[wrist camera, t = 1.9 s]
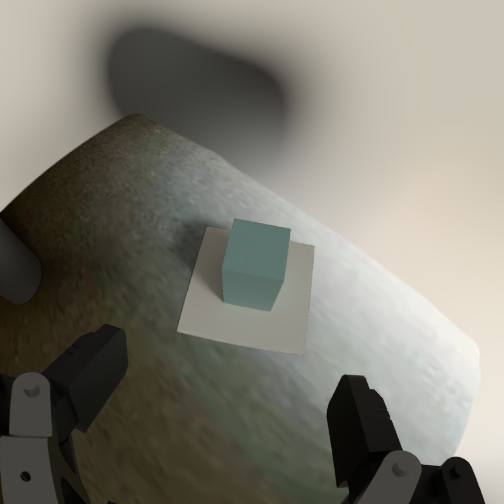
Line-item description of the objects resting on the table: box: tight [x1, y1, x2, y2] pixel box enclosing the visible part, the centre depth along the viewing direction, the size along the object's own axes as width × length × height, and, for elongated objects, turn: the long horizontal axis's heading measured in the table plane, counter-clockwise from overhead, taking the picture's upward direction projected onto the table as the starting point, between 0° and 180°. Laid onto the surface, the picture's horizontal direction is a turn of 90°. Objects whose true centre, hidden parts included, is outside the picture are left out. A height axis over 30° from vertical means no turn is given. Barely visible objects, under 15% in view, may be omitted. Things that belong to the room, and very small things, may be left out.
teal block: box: [222, 219, 291, 312], centre depth 32 cm, size 6×6×10 cm
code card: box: [177, 226, 314, 356], centre depth 36 cm, size 16×16×1 cm
